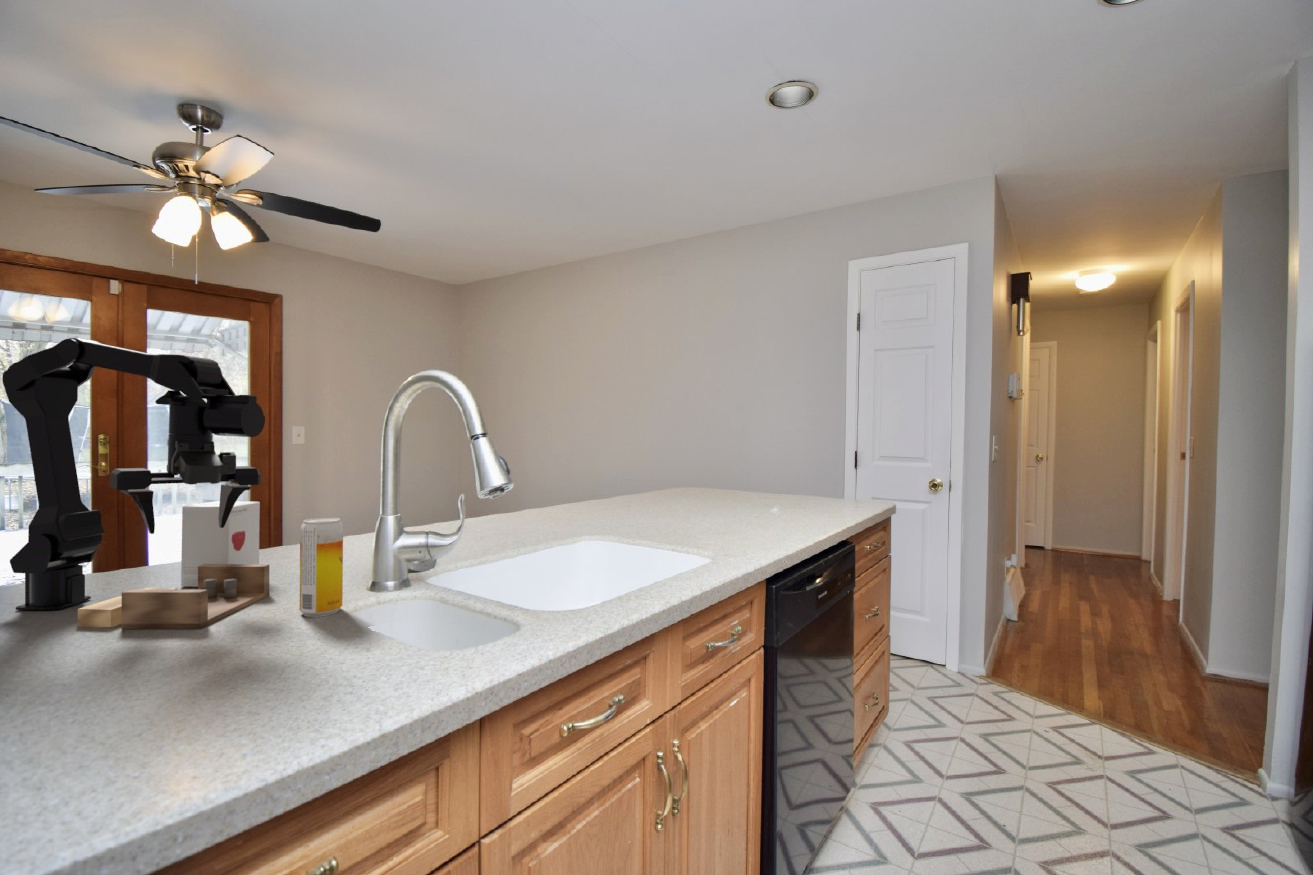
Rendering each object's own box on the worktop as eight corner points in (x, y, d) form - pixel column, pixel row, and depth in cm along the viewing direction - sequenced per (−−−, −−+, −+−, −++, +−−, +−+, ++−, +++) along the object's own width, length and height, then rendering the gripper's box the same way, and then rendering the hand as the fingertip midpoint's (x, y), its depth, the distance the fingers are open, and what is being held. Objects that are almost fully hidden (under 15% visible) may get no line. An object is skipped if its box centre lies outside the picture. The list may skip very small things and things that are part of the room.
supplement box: (227, 588, 112) (228, 507, 111) (179, 587, 112) (179, 505, 111) (261, 576, 121) (261, 500, 120) (216, 575, 121) (216, 499, 120)
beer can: (350, 607, 102) (351, 517, 101) (327, 619, 96) (327, 523, 95) (315, 605, 102) (316, 516, 102) (290, 617, 96) (291, 522, 96)
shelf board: (77, 629, 90) (77, 608, 90) (147, 605, 102) (147, 587, 102) (110, 630, 90) (110, 609, 90) (177, 606, 102) (177, 588, 102)
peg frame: (121, 629, 89) (121, 592, 89) (203, 594, 107) (204, 564, 107) (200, 628, 90) (200, 592, 90) (269, 594, 108) (269, 564, 108)
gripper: (127, 435, 86) (123, 545, 87) (274, 437, 101) (271, 531, 101) (110, 432, 94) (107, 533, 94) (250, 434, 108) (247, 522, 108)
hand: (187, 530), depth 99 cm, fingers open, 9 cm apart
